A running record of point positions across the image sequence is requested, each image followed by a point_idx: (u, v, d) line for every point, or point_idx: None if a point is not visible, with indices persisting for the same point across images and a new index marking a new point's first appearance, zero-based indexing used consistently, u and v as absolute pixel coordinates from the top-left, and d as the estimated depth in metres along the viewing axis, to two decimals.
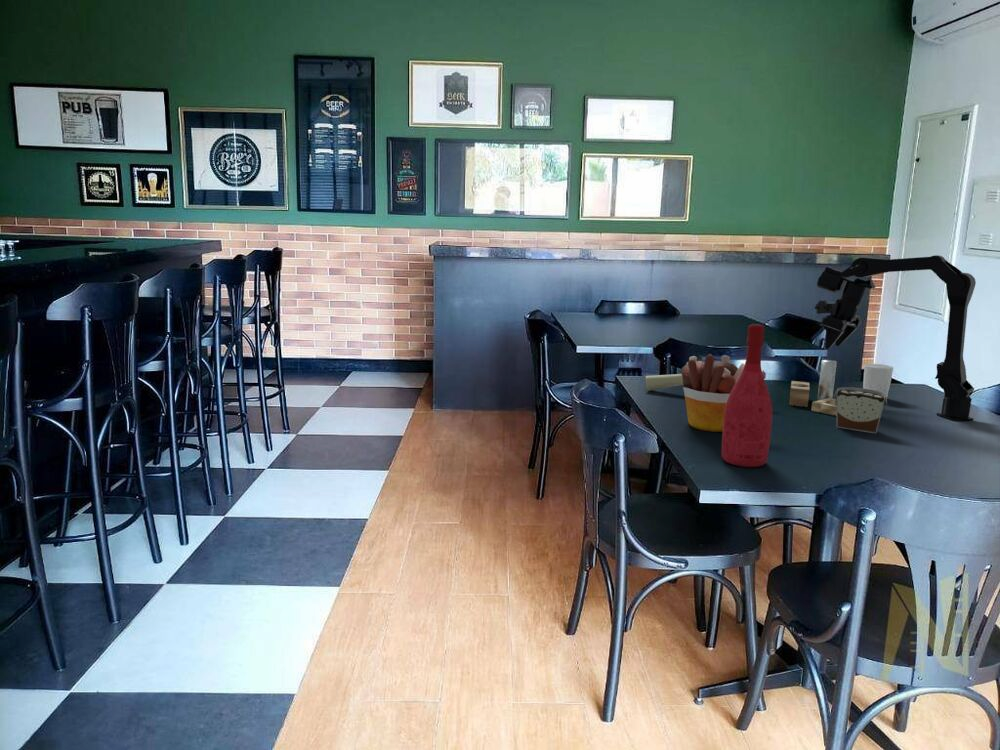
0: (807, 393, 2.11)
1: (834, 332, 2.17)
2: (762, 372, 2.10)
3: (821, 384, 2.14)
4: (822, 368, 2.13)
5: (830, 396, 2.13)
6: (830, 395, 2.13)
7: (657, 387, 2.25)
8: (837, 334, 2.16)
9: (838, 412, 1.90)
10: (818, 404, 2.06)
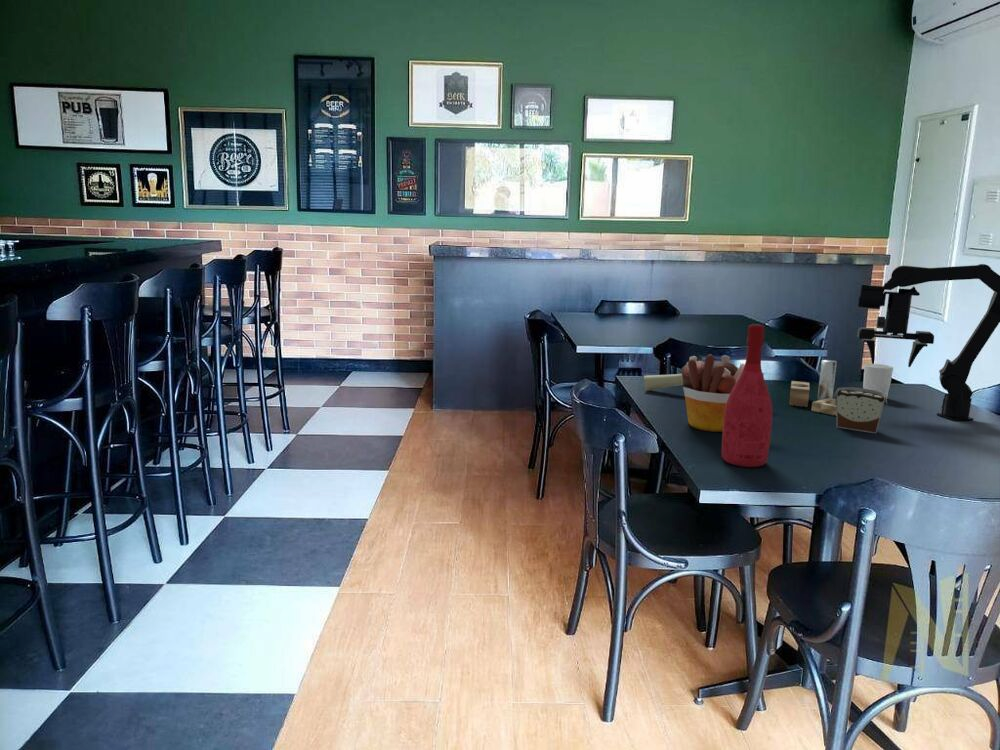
0: (807, 393, 2.11)
1: None
2: None
3: (821, 384, 2.14)
4: (822, 368, 2.13)
5: (830, 396, 2.13)
6: (830, 395, 2.13)
7: (655, 387, 2.25)
8: None
9: (838, 412, 1.90)
10: (818, 404, 2.06)
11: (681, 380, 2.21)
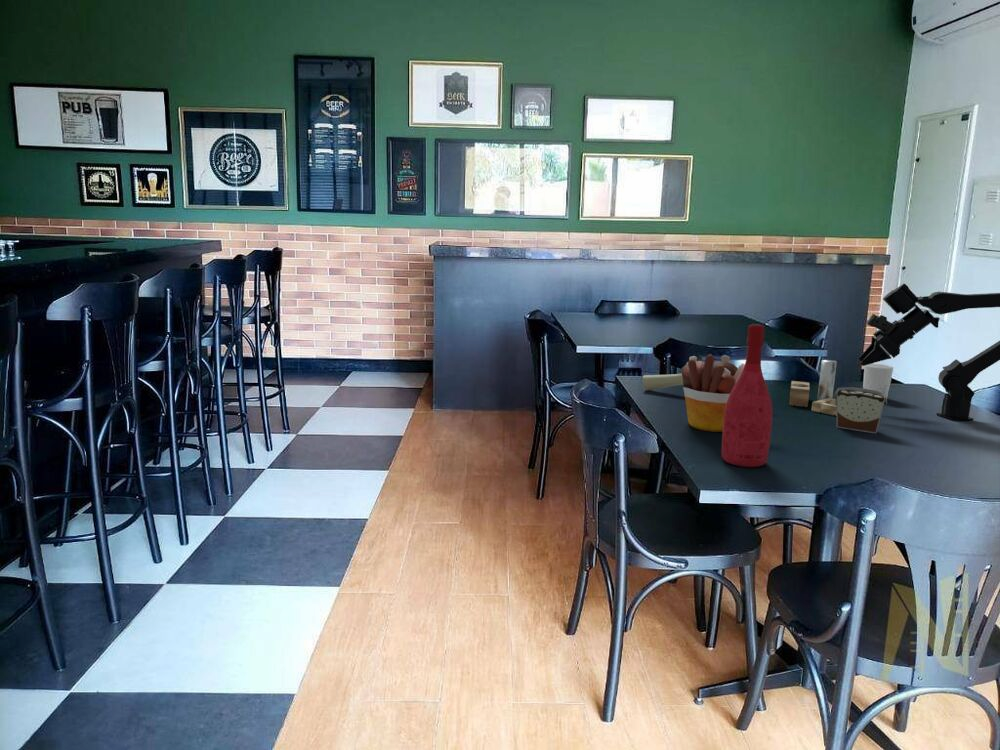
0: (807, 393, 2.11)
1: (880, 354, 2.03)
2: None
3: (821, 384, 2.14)
4: (822, 368, 2.13)
5: (830, 396, 2.13)
6: (830, 395, 2.13)
7: (654, 387, 2.25)
8: (883, 357, 2.02)
9: (838, 412, 1.90)
10: (818, 404, 2.06)
11: (679, 380, 2.21)
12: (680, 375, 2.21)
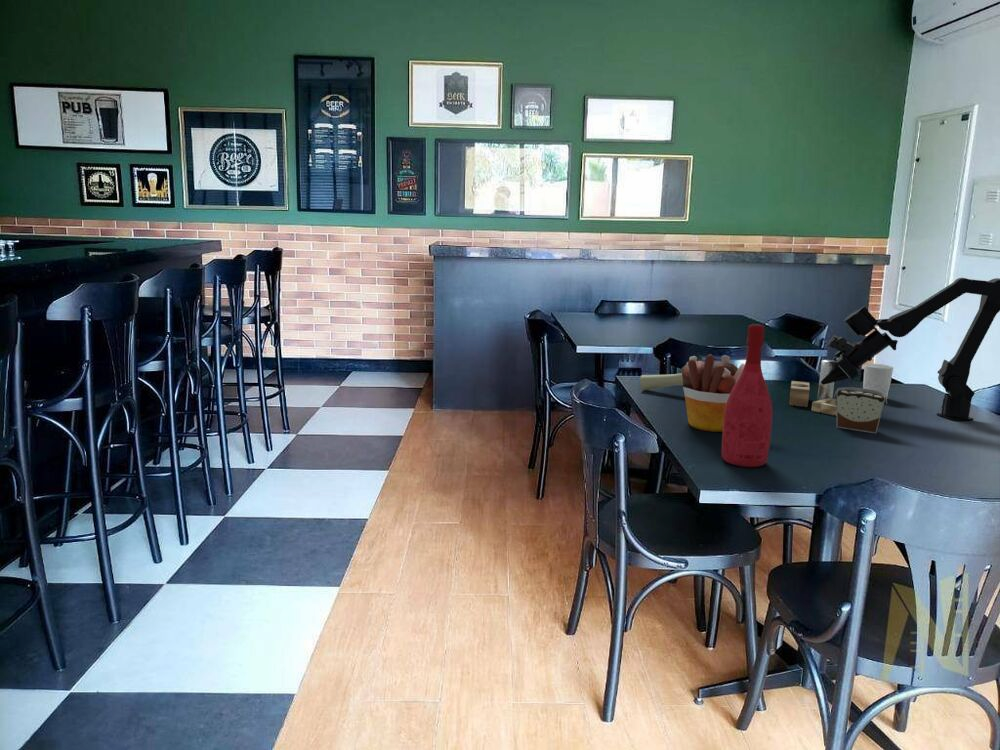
0: (807, 393, 2.11)
1: (840, 373, 2.10)
2: None
3: (821, 384, 2.14)
4: (822, 368, 2.13)
5: (830, 396, 2.13)
6: (830, 395, 2.13)
7: (651, 387, 2.26)
8: (842, 377, 2.09)
9: (838, 412, 1.90)
10: (818, 404, 2.06)
11: (676, 380, 2.21)
12: (677, 375, 2.21)
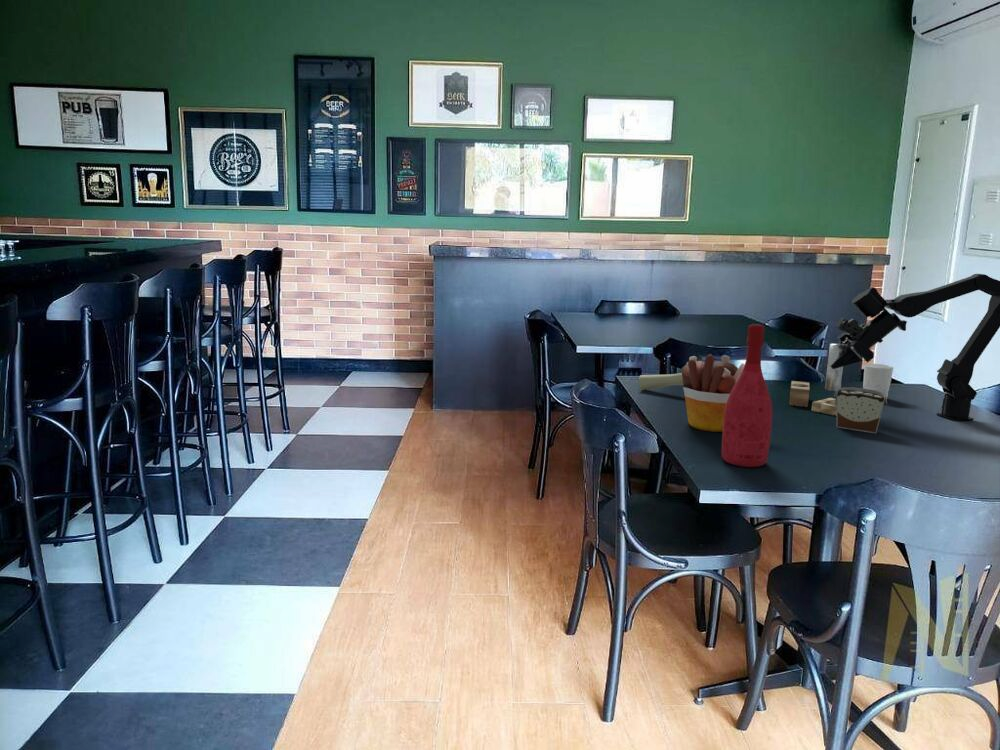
0: (807, 393, 2.11)
1: (851, 357, 2.03)
2: None
3: (830, 368, 2.07)
4: (831, 352, 2.06)
5: (840, 380, 2.07)
6: (839, 379, 2.07)
7: (650, 387, 2.26)
8: (854, 360, 2.03)
9: (838, 412, 1.90)
10: (818, 404, 2.06)
11: (674, 380, 2.21)
12: (675, 375, 2.21)
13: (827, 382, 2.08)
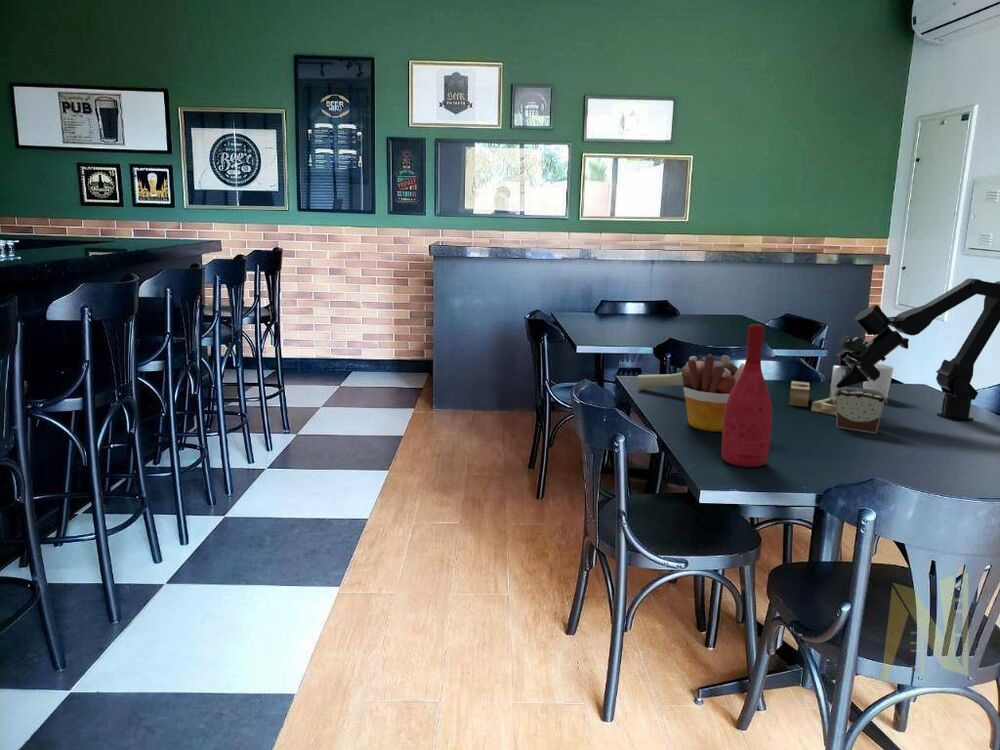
0: (807, 393, 2.11)
1: (857, 376, 2.00)
2: None
3: (834, 391, 2.05)
4: (835, 374, 2.04)
5: None
6: None
7: (648, 386, 2.26)
8: (860, 380, 2.00)
9: (838, 412, 1.90)
10: (818, 404, 2.06)
11: (672, 380, 2.21)
12: (673, 375, 2.21)
13: None
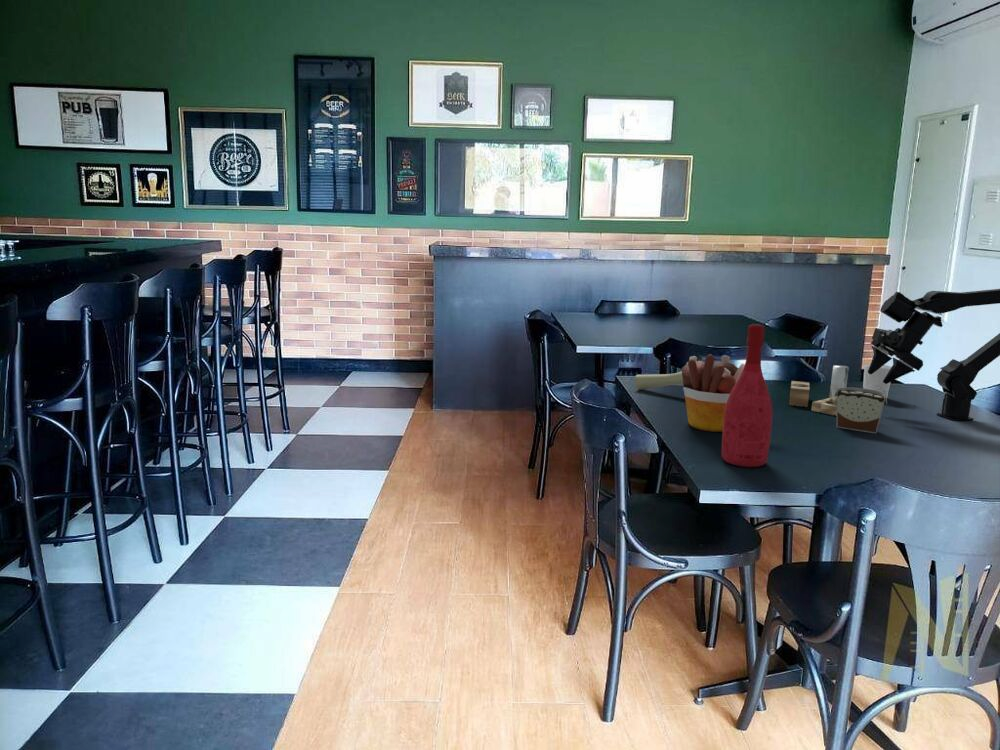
0: (807, 393, 2.11)
1: (901, 368, 1.99)
2: None
3: (833, 391, 2.05)
4: (835, 374, 2.04)
5: None
6: None
7: (646, 386, 2.26)
8: (905, 371, 1.98)
9: (838, 412, 1.90)
10: (818, 404, 2.06)
11: (669, 380, 2.21)
12: (670, 375, 2.21)
13: None
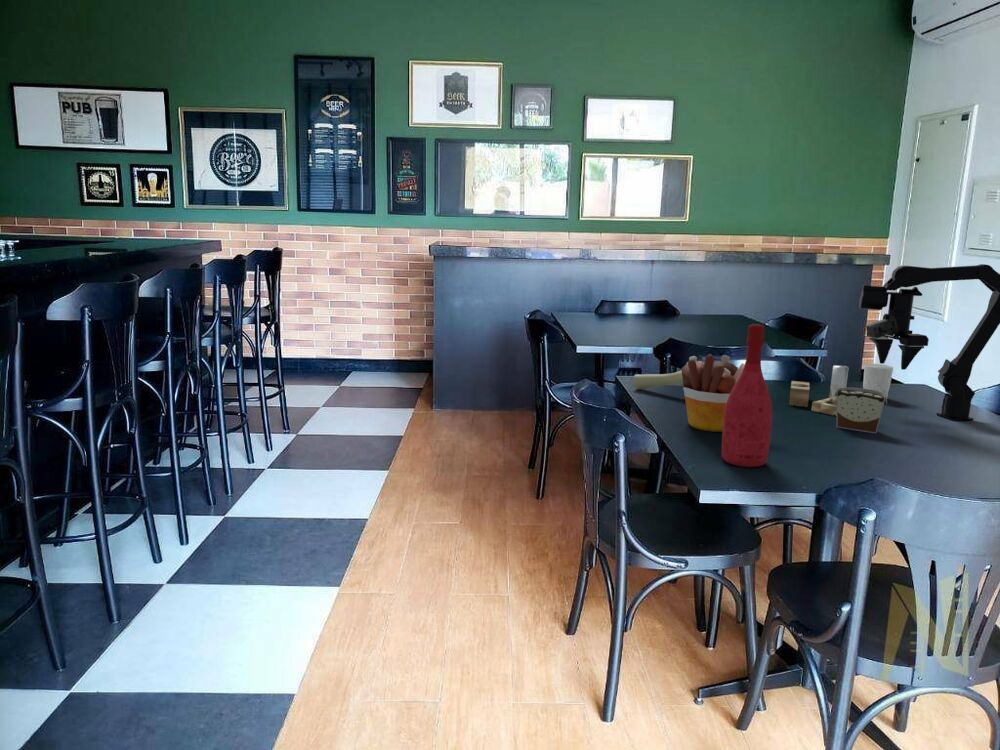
0: (807, 393, 2.11)
1: (911, 350, 2.00)
2: None
3: (833, 391, 2.05)
4: (835, 374, 2.04)
5: None
6: None
7: (644, 386, 2.26)
8: (916, 351, 2.00)
9: (838, 412, 1.90)
10: (818, 404, 2.06)
11: (666, 380, 2.21)
12: (668, 375, 2.21)
13: None
